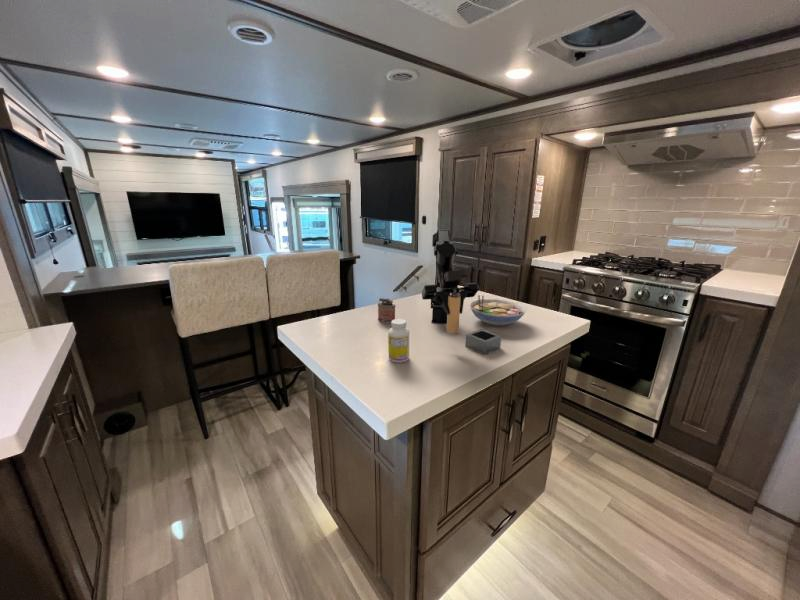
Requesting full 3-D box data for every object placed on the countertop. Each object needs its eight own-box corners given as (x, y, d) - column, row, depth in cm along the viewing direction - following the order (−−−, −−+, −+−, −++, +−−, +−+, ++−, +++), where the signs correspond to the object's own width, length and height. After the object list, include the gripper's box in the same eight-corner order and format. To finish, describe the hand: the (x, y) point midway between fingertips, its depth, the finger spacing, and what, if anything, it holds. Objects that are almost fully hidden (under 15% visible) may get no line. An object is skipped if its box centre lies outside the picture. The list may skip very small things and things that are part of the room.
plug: (445, 332, 105) (447, 290, 100) (447, 327, 108) (449, 286, 104) (457, 333, 104) (460, 291, 99) (459, 329, 107) (461, 287, 103)
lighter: (396, 321, 134) (396, 298, 131) (393, 323, 131) (393, 300, 128) (380, 318, 137) (379, 296, 134) (376, 320, 134) (376, 298, 131)
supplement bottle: (393, 352, 105) (393, 316, 101) (412, 356, 103) (412, 319, 99) (385, 361, 99) (384, 323, 95) (404, 365, 97) (404, 326, 93)
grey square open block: (484, 354, 104) (486, 342, 102) (465, 346, 110) (466, 334, 109) (500, 348, 109) (501, 336, 107) (480, 340, 115) (481, 328, 114)
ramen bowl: (527, 337, 118) (530, 316, 115) (466, 331, 123) (467, 311, 121) (521, 315, 141) (523, 298, 139) (469, 311, 147) (470, 294, 144)
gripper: (424, 261, 101) (432, 303, 94) (479, 259, 104) (490, 300, 97) (418, 279, 111) (425, 319, 104) (468, 277, 114) (478, 316, 107)
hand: (455, 313), depth 103 cm, fingers closed on plug, 4 cm apart
